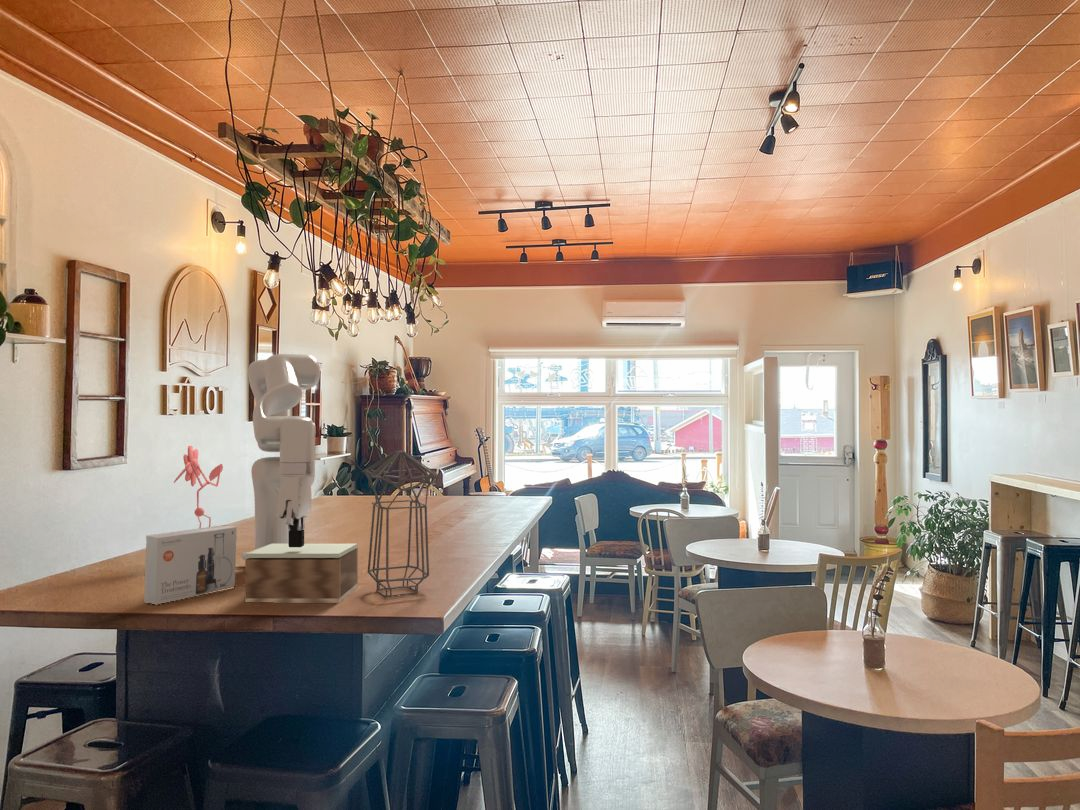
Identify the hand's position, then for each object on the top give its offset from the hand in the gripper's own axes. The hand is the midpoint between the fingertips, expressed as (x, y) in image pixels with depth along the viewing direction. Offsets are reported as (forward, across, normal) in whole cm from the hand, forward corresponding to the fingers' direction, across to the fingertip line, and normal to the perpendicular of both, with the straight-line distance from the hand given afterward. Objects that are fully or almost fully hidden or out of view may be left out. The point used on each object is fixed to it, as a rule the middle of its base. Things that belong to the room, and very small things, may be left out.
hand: (296, 546), depth 176 cm
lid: (+2, -5, 0) cm, 5 cm away
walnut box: (+12, -4, 0) cm, 13 cm away
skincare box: (+13, -3, -27) cm, 30 cm away
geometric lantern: (+13, -6, +23) cm, 27 cm away
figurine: (+14, -46, -49) cm, 69 cm away
